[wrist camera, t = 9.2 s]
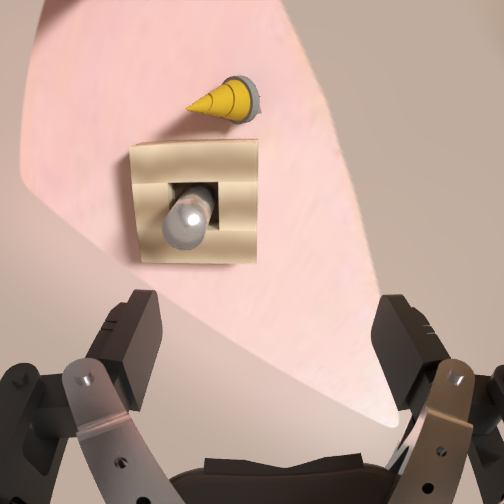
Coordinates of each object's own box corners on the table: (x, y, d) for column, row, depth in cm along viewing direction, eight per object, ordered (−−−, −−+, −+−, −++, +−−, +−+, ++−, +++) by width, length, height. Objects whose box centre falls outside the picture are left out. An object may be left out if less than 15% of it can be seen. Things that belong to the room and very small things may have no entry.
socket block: (140, 142, 36) (128, 147, 32) (257, 139, 36) (258, 143, 32) (150, 248, 42) (141, 262, 38) (256, 249, 42) (256, 263, 38)
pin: (182, 182, 37) (160, 209, 28) (215, 182, 37) (203, 209, 28) (183, 214, 39) (163, 250, 30) (216, 214, 39) (205, 250, 30)
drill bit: (261, 127, 36) (189, 146, 30) (237, 95, 36) (166, 108, 30) (285, 98, 31) (209, 110, 26) (258, 64, 32) (182, 71, 26)
